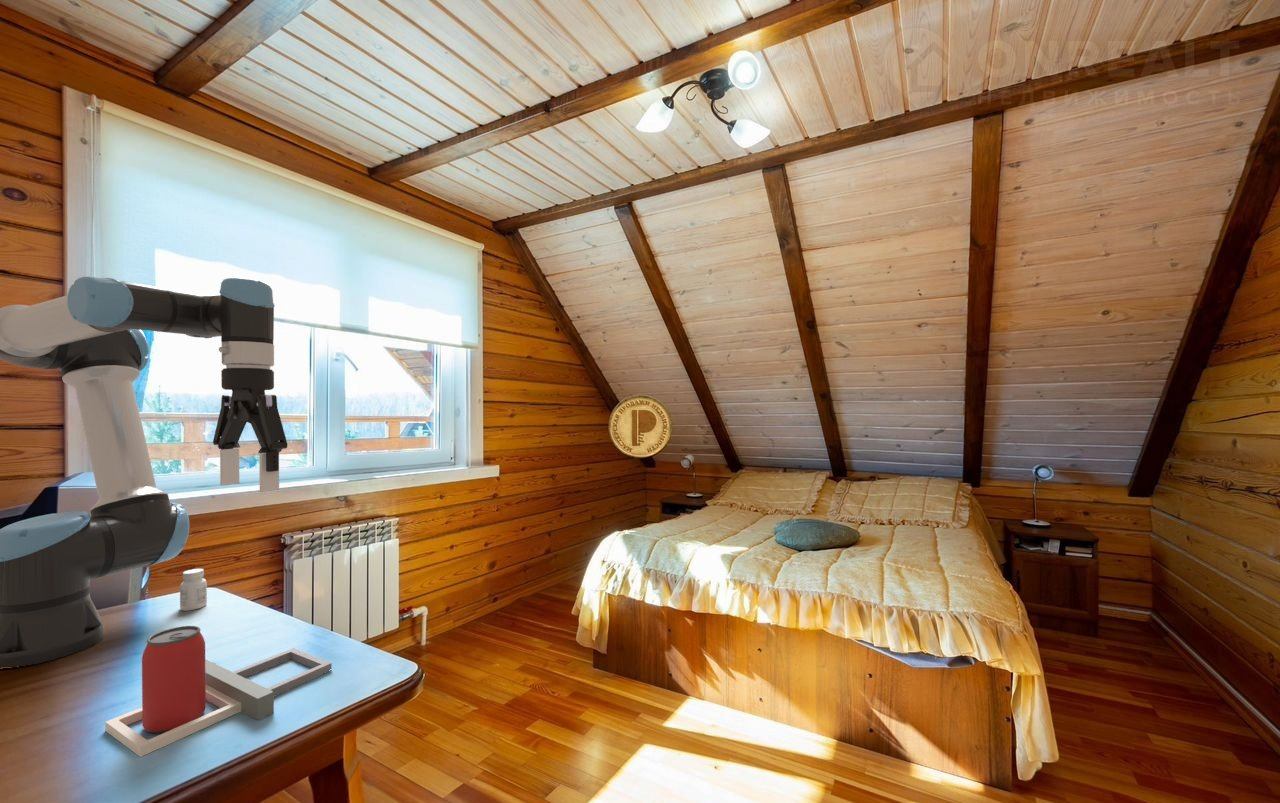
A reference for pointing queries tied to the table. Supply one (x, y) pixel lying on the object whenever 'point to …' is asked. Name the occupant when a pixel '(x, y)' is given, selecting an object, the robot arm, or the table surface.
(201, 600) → the pill bottle
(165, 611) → the table surface
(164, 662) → the beer can
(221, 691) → the double frame with crossbar
